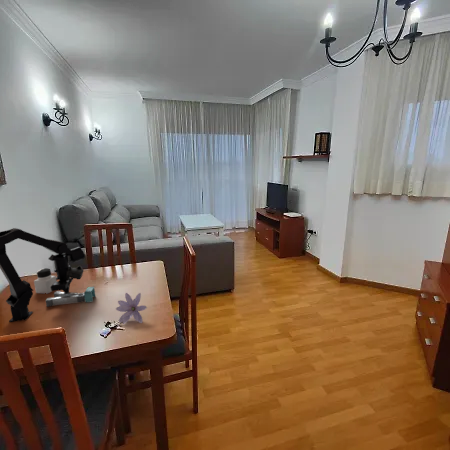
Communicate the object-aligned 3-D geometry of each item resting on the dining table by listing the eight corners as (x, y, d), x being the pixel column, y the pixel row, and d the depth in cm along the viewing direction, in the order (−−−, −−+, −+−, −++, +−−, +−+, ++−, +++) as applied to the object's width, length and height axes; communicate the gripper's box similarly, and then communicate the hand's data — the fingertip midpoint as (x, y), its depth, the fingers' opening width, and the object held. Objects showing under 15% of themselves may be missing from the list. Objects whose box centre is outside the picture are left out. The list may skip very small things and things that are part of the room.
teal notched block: (95, 295, 132) (94, 286, 131) (92, 301, 126) (90, 291, 125) (89, 296, 131) (87, 287, 130) (85, 302, 126) (84, 292, 125)
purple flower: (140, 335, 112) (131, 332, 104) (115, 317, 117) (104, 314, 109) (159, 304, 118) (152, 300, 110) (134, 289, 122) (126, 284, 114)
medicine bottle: (58, 287, 142) (54, 267, 140) (48, 293, 135) (44, 272, 133) (46, 287, 143) (42, 266, 140) (35, 293, 136) (31, 272, 133)
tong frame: (86, 298, 130) (85, 292, 129) (83, 302, 126) (82, 296, 125) (50, 302, 127) (49, 296, 126) (46, 306, 123) (45, 300, 122)
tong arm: (79, 297, 131) (78, 291, 130) (76, 299, 128) (76, 294, 128) (57, 296, 132) (56, 291, 131) (54, 298, 130) (53, 293, 129)
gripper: (74, 272, 120) (79, 301, 124) (85, 256, 137) (89, 283, 142) (47, 275, 117) (53, 304, 122) (62, 258, 135) (67, 285, 139)
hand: (67, 293), depth 131 cm, fingers closed
